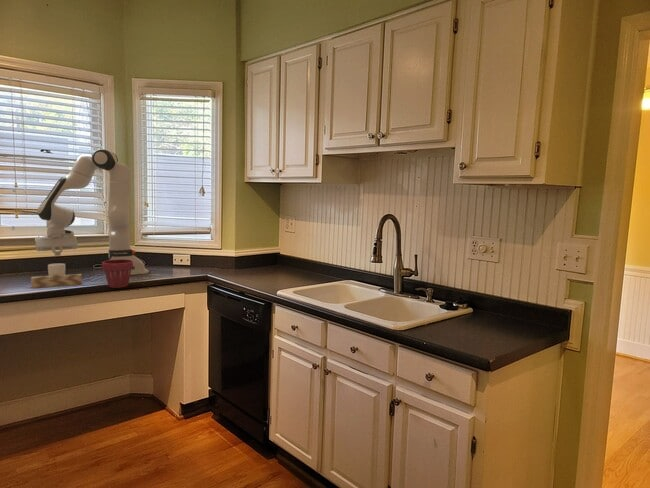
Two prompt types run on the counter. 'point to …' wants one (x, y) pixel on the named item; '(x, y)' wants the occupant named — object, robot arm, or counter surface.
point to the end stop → (56, 280)
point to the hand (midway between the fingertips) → (57, 255)
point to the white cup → (56, 269)
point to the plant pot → (117, 272)
